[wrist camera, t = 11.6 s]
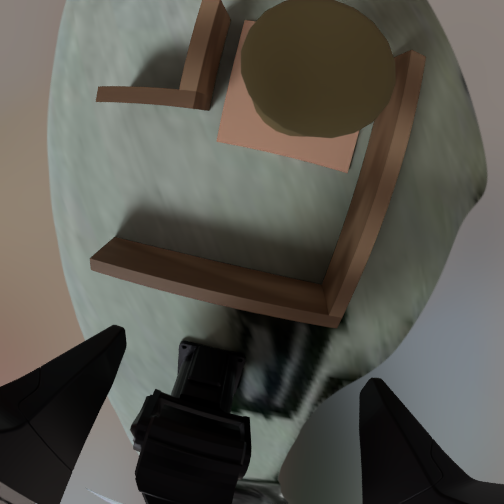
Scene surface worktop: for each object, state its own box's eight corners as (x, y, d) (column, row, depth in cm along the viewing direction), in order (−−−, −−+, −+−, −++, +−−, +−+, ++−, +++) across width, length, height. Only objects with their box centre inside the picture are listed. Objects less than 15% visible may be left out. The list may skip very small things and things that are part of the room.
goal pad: (345, 172, 19) (347, 173, 18) (217, 141, 18) (216, 141, 18) (374, 55, 15) (376, 54, 14) (245, 21, 14) (244, 20, 14)
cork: (244, 128, 17) (203, 136, 8) (258, 44, 15) (237, -39, 5) (334, 145, 17) (404, 178, 8) (349, 62, 15) (428, 9, 5)
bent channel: (329, 297, 23) (336, 328, 19) (114, 247, 23) (90, 269, 19) (400, 66, 15) (425, 56, 11) (145, 18, 14) (120, 2, 11)
